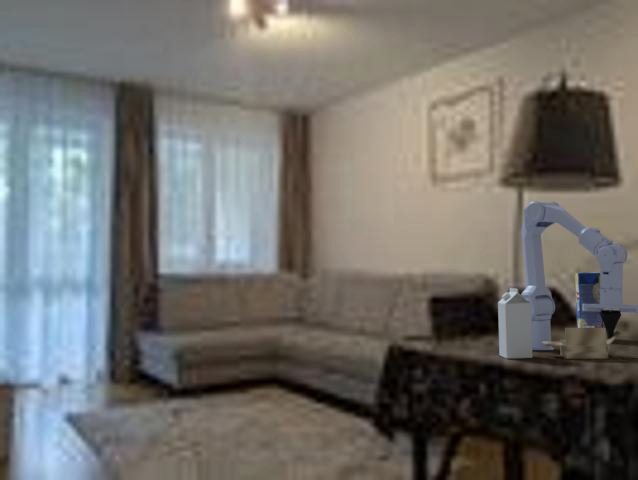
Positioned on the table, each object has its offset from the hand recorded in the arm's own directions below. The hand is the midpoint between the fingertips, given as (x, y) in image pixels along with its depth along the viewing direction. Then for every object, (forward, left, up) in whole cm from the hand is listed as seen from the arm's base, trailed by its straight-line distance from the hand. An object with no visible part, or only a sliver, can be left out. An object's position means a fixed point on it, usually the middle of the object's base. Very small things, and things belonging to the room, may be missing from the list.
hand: (610, 338), depth 192 cm
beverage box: (+2, +41, -5) cm, 42 cm away
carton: (-10, +2, -5) cm, 11 cm away
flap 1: (-7, -4, +1) cm, 9 cm away
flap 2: (0, -1, +1) cm, 1 cm away
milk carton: (-25, -2, -5) cm, 26 cm away
